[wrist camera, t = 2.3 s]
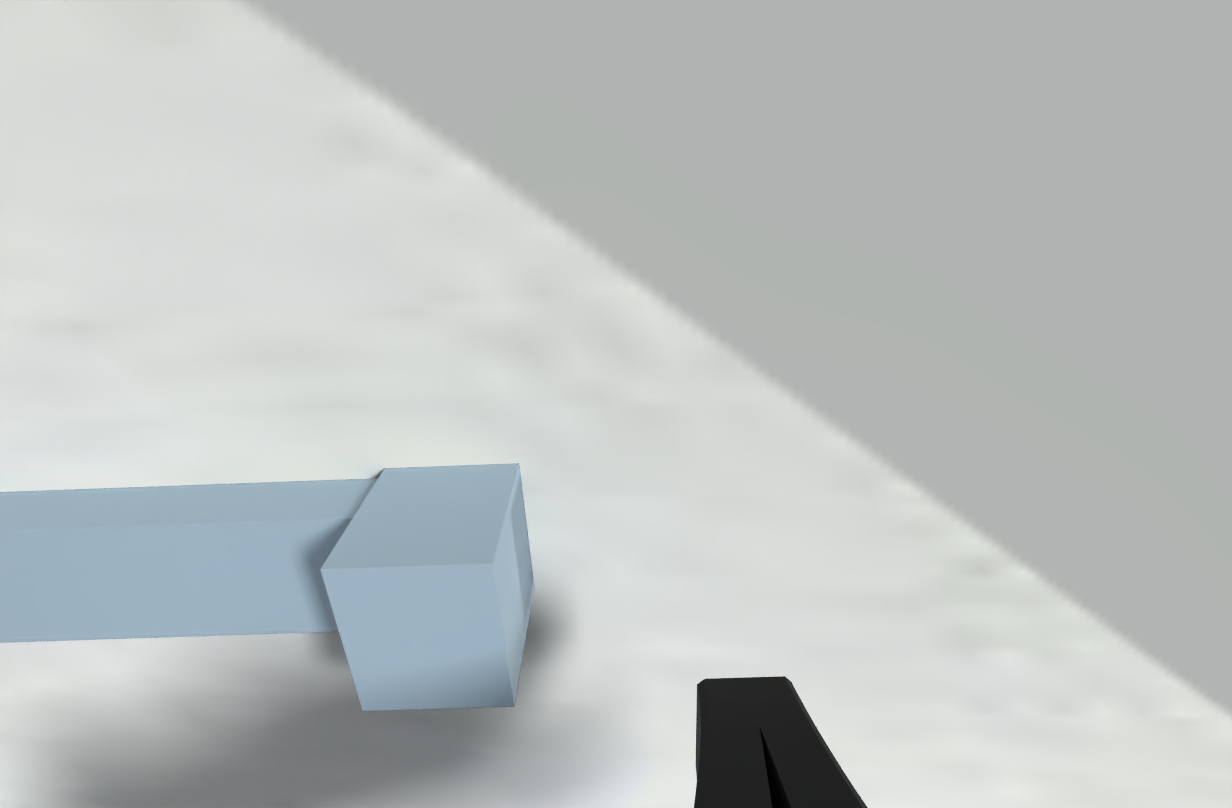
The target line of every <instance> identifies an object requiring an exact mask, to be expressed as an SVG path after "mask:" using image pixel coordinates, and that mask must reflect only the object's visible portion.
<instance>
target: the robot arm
mask: <svg viewBox="0 0 1232 808" xmlns="http://www.w3.org/2000/svg"><path fill="white" fill-rule="evenodd" d="M696 772H697V787H696V795H695V804H694V808H867V806H866V805H865V803H864V802H863V800H862V799H861V797H860V796H859V794H858V793H857V792H856V790H855V789H854V787H853V786H852V784H851V782H850V781H849V779H848V778H847V776H846V775H845V773H844V772H843V770H842V769H841V767H840V765H839V764H838V762H837V761H836V759H835V757H834V756H833V754H832V752H831V751H830V749H829V748H828V746H827V744H826V743H825V741H824V739H823V738H822V736H821V734H820V733H819V731H818V729H817V728H816V726H815V724H814V723H813V721H812V719H811V717H810V716H809V714H808V712H807V710H806V709H805V707H804V705H803V703H802V701H801V699H800V698H799V696H798V694H797V692H796V690H795V688H794V686H793V684H792V682H791V681H790V680H788V679H787V678H786V677H752V678H719V679H704V680H703V681H701V682H700V683H699V684H697V723H696Z"/></svg>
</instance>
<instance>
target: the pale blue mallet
mask: <svg viewBox="0 0 1232 808" xmlns="http://www.w3.org/2000/svg"><path fill="white" fill-rule="evenodd" d="M533 592H534V580H533V572H532V564H531V556H530V547H529V539H528V531H527V523H526V515H525V507H524V499H523V491H522V482H521V474H520V466H519V463H517V464H490V465H463V466H436V467H409V468H384V470H383V471H382V473H381V475H380V476H379V478H374V479H347V480H320V481H292V482H265V483H238V484H211V485H183V486H156V487H129V488H102V489H75V490H47V491H20V492H0V643H5V642H35V641H66V640H96V639H127V638H157V637H188V636H218V635H249V634H279V633H309V632H339V634H340V637H341V641H342V644H343V647H344V651H345V654H346V658H347V661H348V664H349V668H350V671H351V674H352V678H353V681H354V684H355V688H356V691H357V695H358V698H359V701H360V705H361V708H362V711H382V710H414V709H447V708H480V707H512V706H515V700H516V694H517V688H518V682H519V676H520V670H521V664H522V658H523V652H524V646H525V640H526V634H527V628H528V622H529V616H530V610H531V604H532V598H533Z"/></svg>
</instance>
